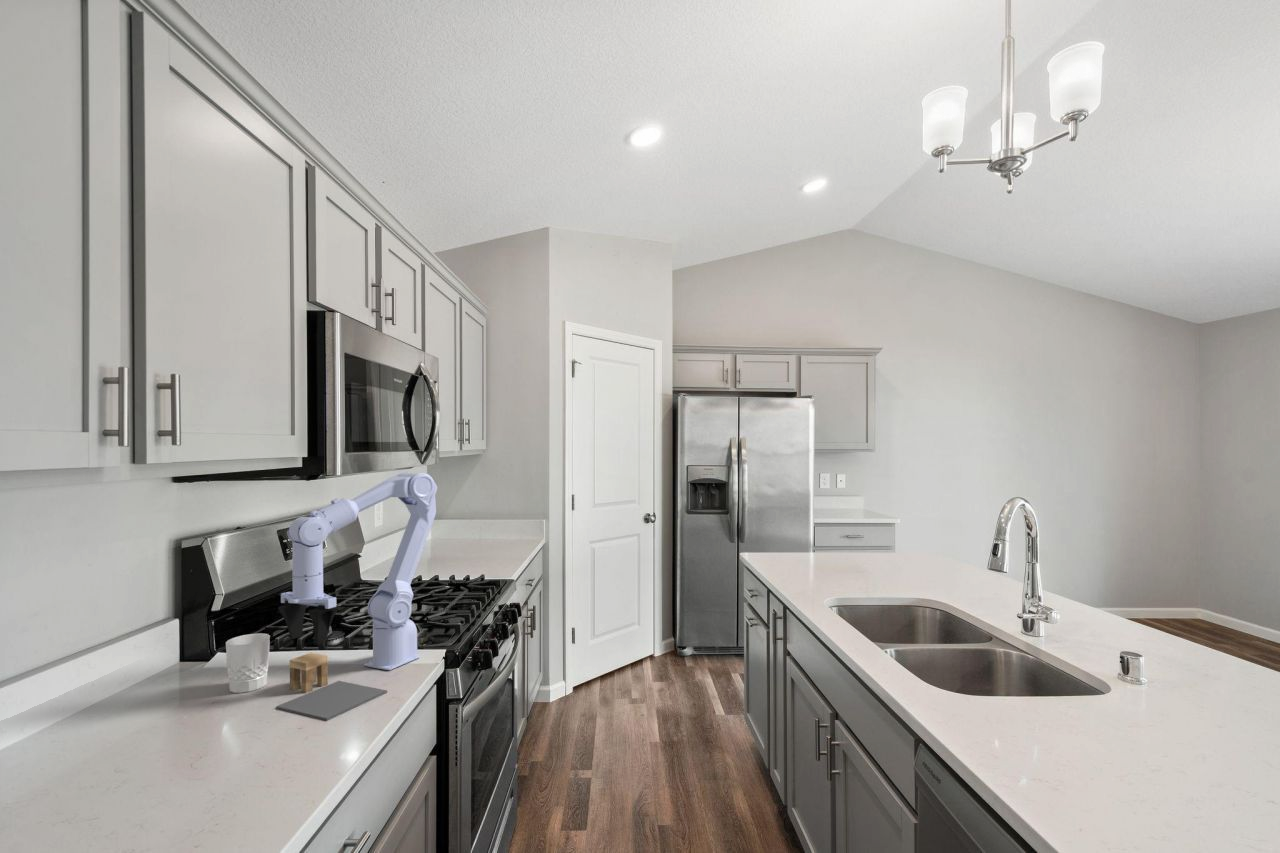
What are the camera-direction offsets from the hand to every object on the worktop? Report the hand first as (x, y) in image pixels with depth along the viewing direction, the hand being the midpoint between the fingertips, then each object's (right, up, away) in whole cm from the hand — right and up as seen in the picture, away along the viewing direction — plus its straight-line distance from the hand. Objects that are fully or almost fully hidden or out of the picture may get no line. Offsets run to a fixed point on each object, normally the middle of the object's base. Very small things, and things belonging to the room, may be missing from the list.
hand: (308, 639), depth 132 cm
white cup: (-13, -10, 0) cm, 16 cm away
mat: (+9, -9, -8) cm, 15 cm away
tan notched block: (0, -10, 0) cm, 10 cm away
